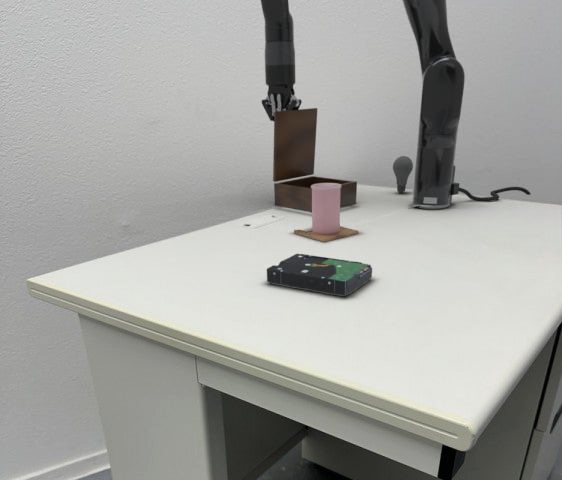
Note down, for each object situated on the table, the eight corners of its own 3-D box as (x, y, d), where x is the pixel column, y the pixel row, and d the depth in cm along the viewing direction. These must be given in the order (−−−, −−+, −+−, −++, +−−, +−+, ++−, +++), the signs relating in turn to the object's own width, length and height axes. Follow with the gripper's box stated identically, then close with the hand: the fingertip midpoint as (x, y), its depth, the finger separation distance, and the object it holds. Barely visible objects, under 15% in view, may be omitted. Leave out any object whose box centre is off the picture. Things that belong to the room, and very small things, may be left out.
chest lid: (317, 108, 140) (315, 107, 141) (276, 111, 132) (274, 111, 132) (313, 174, 149) (311, 173, 150) (275, 181, 140) (272, 181, 141)
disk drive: (266, 285, 91) (346, 298, 84) (265, 269, 90) (347, 280, 83) (296, 267, 99) (372, 278, 92) (296, 252, 98) (373, 262, 91)
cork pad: (327, 225, 125) (327, 223, 125) (358, 233, 118) (358, 230, 118) (293, 233, 120) (293, 230, 120) (323, 242, 113) (324, 239, 113)
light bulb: (409, 191, 159) (412, 154, 154) (411, 194, 154) (415, 157, 149) (390, 191, 160) (392, 155, 155) (392, 195, 155) (394, 157, 150)
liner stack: (326, 225, 123) (327, 181, 118) (346, 230, 118) (347, 185, 114) (305, 230, 120) (304, 185, 115) (324, 236, 115) (324, 189, 110)
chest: (356, 206, 143) (357, 181, 139) (318, 216, 134) (318, 190, 131) (312, 199, 153) (312, 175, 150) (274, 208, 144) (274, 183, 141)
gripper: (309, 62, 133) (310, 139, 141) (273, 64, 141) (275, 136, 150) (287, 62, 128) (289, 142, 137) (251, 64, 137) (254, 139, 145)
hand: (282, 139), depth 143 cm, fingers closed
